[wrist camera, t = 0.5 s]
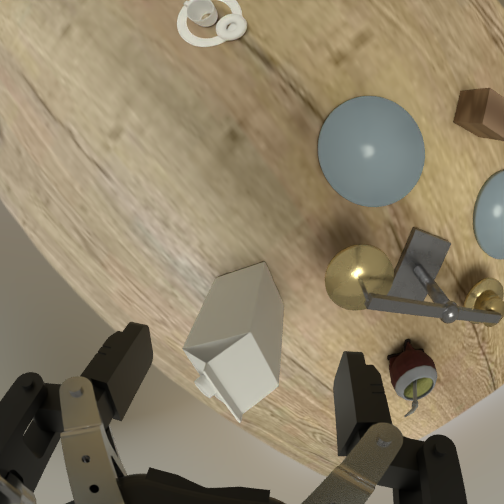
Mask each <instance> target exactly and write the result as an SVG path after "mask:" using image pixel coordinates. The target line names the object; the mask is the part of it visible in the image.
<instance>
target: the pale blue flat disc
mask: <svg viewBox="0 0 504 504" xmlns="http://www.w3.org/2000/svg"><path fill="white" fill-rule="evenodd" d="M318 158H319V163H320V166H321V169H322V171H323V173H324V176H325V177H326V179H327V180H328V182H329V183H330V185H331V186H332V187H333V188H334V189H335V190H336V191H337V192H338V193H339V194H340V195H341V196H343V197H344V198H345V199H347V200H349V201H351V202H353V203H355V204H358V205H362V206H368V207H380V206H386V205H389V204H392V203H394V202H397V201H398V200H400V199H402V198H403V197H404V196H406V195H407V194H408V193H409V192H410V191H411V190H412V189H413V187H414V186H415V185H416V183H417V182H418V180H419V178H420V175H421V173H422V170H423V166H424V160H425V148H424V142H423V137H422V135H421V132H420V129H419V127H418V126H417V124H416V122H415V121H414V119H413V118H412V117H411V116H410V114H409V113H408V112H407V111H406V110H404V109H403V108H402V107H401V106H399V105H398V104H396V103H394V102H392V101H390V100H388V99H385V98H381V97H376V96H362V97H357V98H354V99H351V100H348V101H346V102H344V103H343V104H341V105H339V106H338V107H337V108H335V109H334V110H333V111H332V112H331V113H330V115H329V116H328V117H327V119H326V120H325V122H324V124H323V126H322V128H321V131H320V134H319V139H318Z"/></svg>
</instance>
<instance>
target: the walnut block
mask: <svg viewBox="0 0 504 504" xmlns="http://www.w3.org/2000/svg"><path fill="white" fill-rule="evenodd" d="M453 122H454V123H456V124H458V125H459V126H461V127H463V128H465V129H466V130H468V131H470V132H471V133H473V134H475V135H476V136H478V137H483V138H489V139H495V140H501V141H504V97H502V96H501V95H500V94H498V93H497V92H495V91H494V90H493V89H491V88H483V89H474V90H465V91H460V96H459V100H458V105H457V109H456V113H455V117H454V121H453Z"/></svg>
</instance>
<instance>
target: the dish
mask: <svg viewBox="0 0 504 504" xmlns="http://www.w3.org/2000/svg"><path fill="white" fill-rule="evenodd" d="M473 229H474V234H475V237H476V240H477V242H478V244H479V246H480V247H481V248H482V250H483V251H484V252H486V253H487V254H488V255H489V256H491V257H493V258H496V259H504V170H501V171H498V172H496V173H495V174H493V175H492V176H491V177H490V178H489V179H488V180H487V181H486V182H485V184H484V185H483V187H482V188H481V190H480V192H479V194H478V197H477V200H476V203H475V207H474V213H473Z"/></svg>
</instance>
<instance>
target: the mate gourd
mask: <svg viewBox="0 0 504 504" xmlns="http://www.w3.org/2000/svg"><path fill="white" fill-rule="evenodd" d="M387 358H388V360H390V365H389V370H390V377H391V383H392V385H393V387H394V389H395V391H396V393H397V395H398V396H400V397H402V398H404V399H405V400H411V401H413V402H412V409H411V410H410V411H409V412H408V413H407V414H406V415H405V416H404V417H407V416H408V415H410V414H412V413H413V412H414V411H415V410H416V408H417V407H418V401H417V400H418V399H421V398H423V397H425V396H426V395H427V394H429V393H430V392H431V391H432V389H433V388H434V386H435V383H436V379H437V372H436V368H435V364H434V362H433V360H432V359H431V358H430V357H429V356H428V355H427V354H426V353H424V350H423V349H419V350H416V349H414V348H413V347H412V346H411V344H410V339H406V340H405V345H404V351H403V352H402V353H397V354H392V355H388V357H387Z"/></svg>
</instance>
